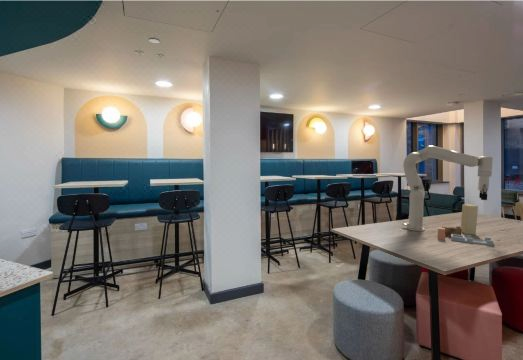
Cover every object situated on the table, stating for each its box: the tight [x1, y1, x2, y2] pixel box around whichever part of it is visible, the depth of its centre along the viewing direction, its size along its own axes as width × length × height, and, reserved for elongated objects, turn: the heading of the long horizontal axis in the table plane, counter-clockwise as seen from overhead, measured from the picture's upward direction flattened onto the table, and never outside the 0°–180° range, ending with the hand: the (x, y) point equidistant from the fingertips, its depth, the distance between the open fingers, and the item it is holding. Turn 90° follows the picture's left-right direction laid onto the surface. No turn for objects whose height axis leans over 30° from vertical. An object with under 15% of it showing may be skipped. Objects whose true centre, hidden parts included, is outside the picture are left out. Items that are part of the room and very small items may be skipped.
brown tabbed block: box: [441, 225, 462, 237], centre depth 201 cm, size 12×5×7 cm, turn 58°
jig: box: [450, 234, 495, 247], centre depth 186 cm, size 22×9×3 cm, turn 57°
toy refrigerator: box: [460, 203, 479, 235], centre depth 206 cm, size 8×7×21 cm
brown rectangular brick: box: [437, 227, 446, 240], centre depth 193 cm, size 4×4×7 cm
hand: (483, 199), depth 193 cm, fingers open, 9 cm apart
